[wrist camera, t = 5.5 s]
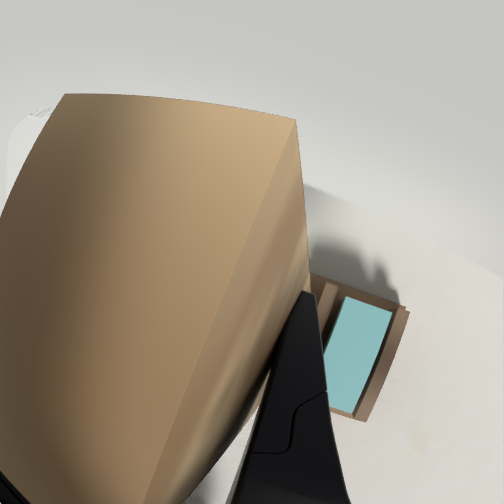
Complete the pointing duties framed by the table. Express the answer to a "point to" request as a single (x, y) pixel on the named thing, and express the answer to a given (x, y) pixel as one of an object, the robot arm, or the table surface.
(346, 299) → the offcut upper
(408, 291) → the table surface
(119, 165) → the oak board
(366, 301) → the rack
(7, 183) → the table surface
